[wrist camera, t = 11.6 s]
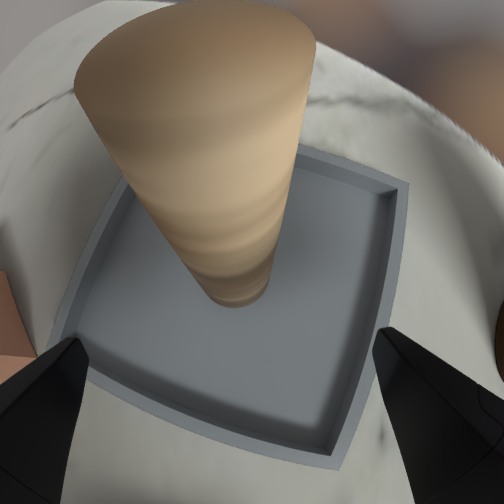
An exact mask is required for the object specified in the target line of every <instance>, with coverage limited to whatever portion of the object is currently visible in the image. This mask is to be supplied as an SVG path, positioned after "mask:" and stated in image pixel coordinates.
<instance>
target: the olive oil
mask: <svg viewBox="0 0 504 504" xmlns="http://www.w3.org/2000/svg"><path fill="white" fill-rule="evenodd" d="M496 358H497V364H498V368H499V372H500V375H501V377H502V379H503V381H504V302H503V304H502V307H501V310H500V313H499V317H498V322H497V328H496Z"/></svg>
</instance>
